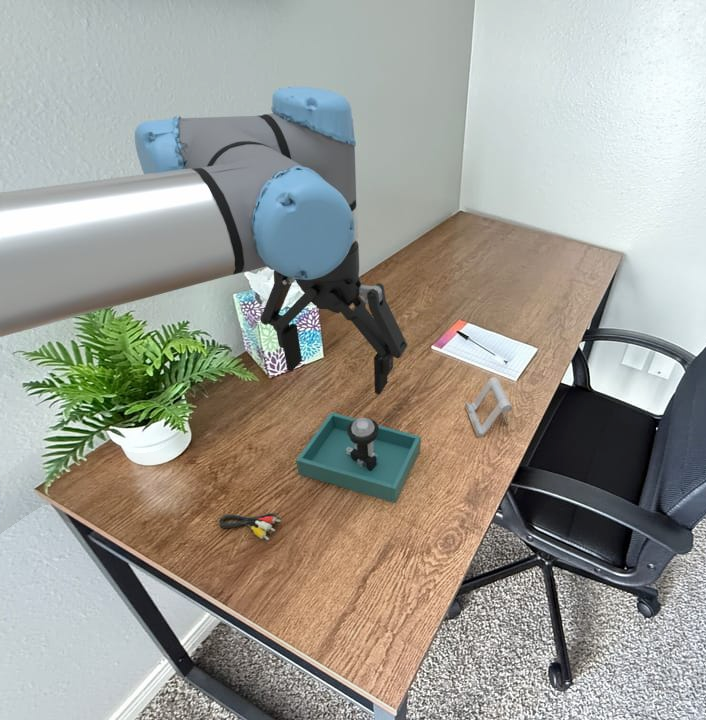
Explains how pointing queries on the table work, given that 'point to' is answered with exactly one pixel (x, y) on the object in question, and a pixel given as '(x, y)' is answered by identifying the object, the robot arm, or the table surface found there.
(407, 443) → the tray
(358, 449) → the push button
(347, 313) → the robot arm
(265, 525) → the composite cable
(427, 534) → the table surface
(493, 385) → the tablet stand
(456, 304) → the table surface
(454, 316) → the table surface
